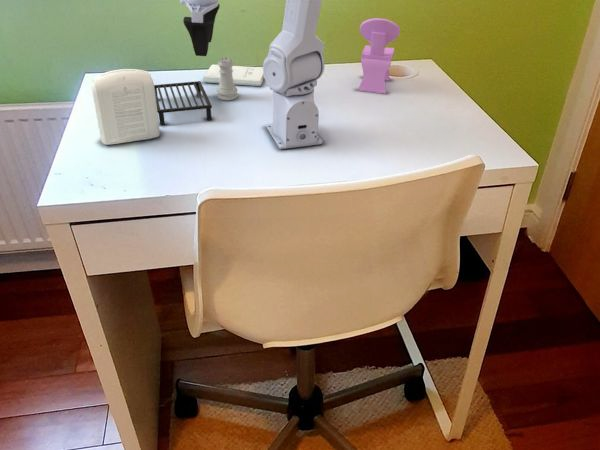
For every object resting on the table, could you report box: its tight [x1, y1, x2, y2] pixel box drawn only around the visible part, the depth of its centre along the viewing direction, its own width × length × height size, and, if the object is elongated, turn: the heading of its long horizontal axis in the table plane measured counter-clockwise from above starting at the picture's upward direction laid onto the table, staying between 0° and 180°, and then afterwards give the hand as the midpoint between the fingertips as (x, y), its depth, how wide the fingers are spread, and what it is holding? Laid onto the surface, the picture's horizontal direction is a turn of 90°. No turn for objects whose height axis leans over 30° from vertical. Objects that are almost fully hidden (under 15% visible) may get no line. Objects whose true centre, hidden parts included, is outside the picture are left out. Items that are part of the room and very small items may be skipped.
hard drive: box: [203, 64, 265, 87], centre depth 123 cm, size 2×8×12 cm
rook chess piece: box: [216, 56, 239, 102], centre depth 112 cm, size 4×4×8 cm
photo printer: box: [91, 68, 161, 145], centre depth 95 cm, size 10×4×12 cm, turn 115°
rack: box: [154, 80, 213, 126], centre depth 108 cm, size 13×10×3 cm
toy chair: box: [357, 17, 401, 95], centre depth 118 cm, size 8×9×15 cm
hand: (203, 48), depth 109 cm, fingers open, 7 cm apart
